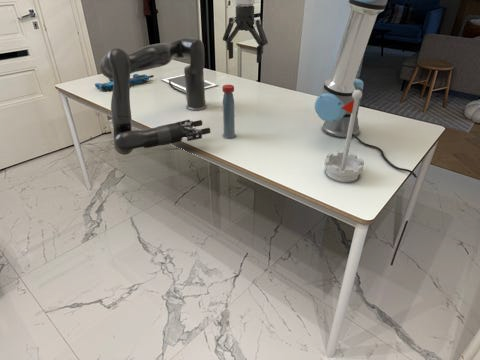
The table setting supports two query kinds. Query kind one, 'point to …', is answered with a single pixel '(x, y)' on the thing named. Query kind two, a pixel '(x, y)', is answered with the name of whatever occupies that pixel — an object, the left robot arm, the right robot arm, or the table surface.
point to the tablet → (180, 82)
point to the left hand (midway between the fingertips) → (205, 126)
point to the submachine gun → (133, 80)
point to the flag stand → (346, 151)
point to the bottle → (228, 115)
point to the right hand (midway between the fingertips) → (244, 60)
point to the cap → (228, 88)
